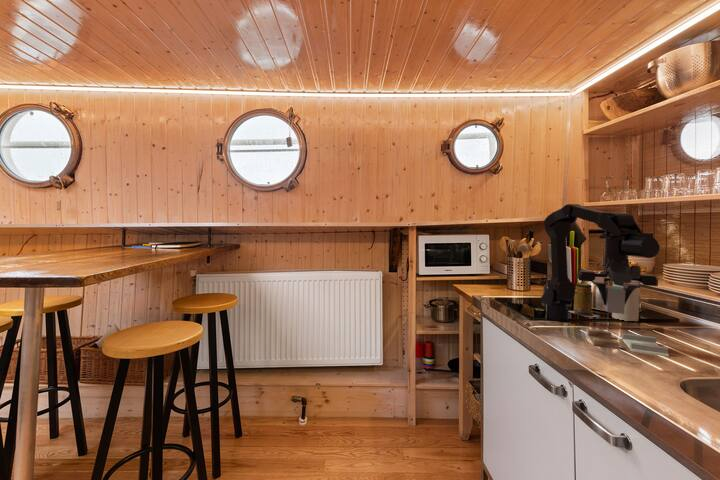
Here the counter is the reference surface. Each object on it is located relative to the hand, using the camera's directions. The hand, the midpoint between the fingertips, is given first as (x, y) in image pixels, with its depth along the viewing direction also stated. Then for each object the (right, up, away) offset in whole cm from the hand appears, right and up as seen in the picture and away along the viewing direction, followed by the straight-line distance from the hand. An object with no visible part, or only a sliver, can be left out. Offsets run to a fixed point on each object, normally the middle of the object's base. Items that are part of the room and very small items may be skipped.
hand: (613, 305), depth 101 cm
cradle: (+7, -12, -3) cm, 14 cm away
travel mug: (+25, -11, +27) cm, 38 cm away
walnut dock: (-2, -12, +2) cm, 12 cm away
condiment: (+13, -10, +33) cm, 37 cm away
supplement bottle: (+7, -9, +44) cm, 46 cm away
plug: (0, -2, 0) cm, 2 cm away
